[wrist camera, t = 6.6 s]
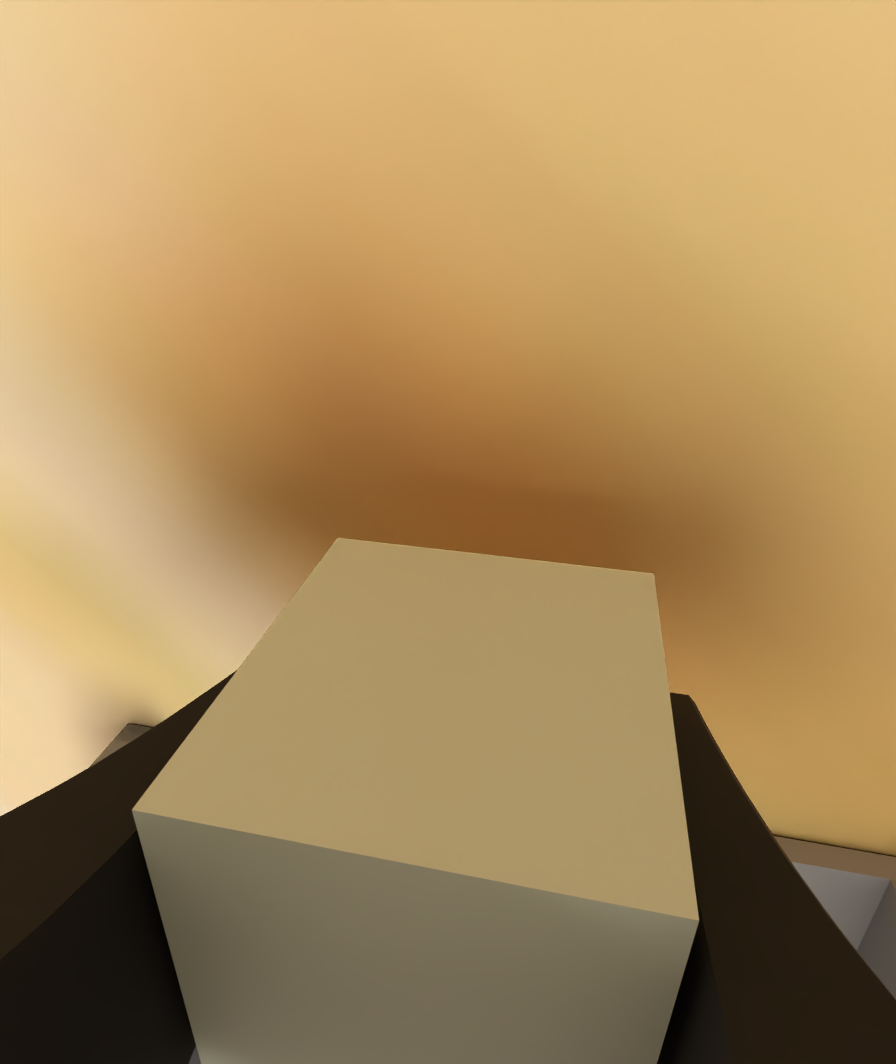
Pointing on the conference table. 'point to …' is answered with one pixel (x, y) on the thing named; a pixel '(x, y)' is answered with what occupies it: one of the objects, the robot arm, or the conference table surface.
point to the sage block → (432, 822)
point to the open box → (830, 872)
